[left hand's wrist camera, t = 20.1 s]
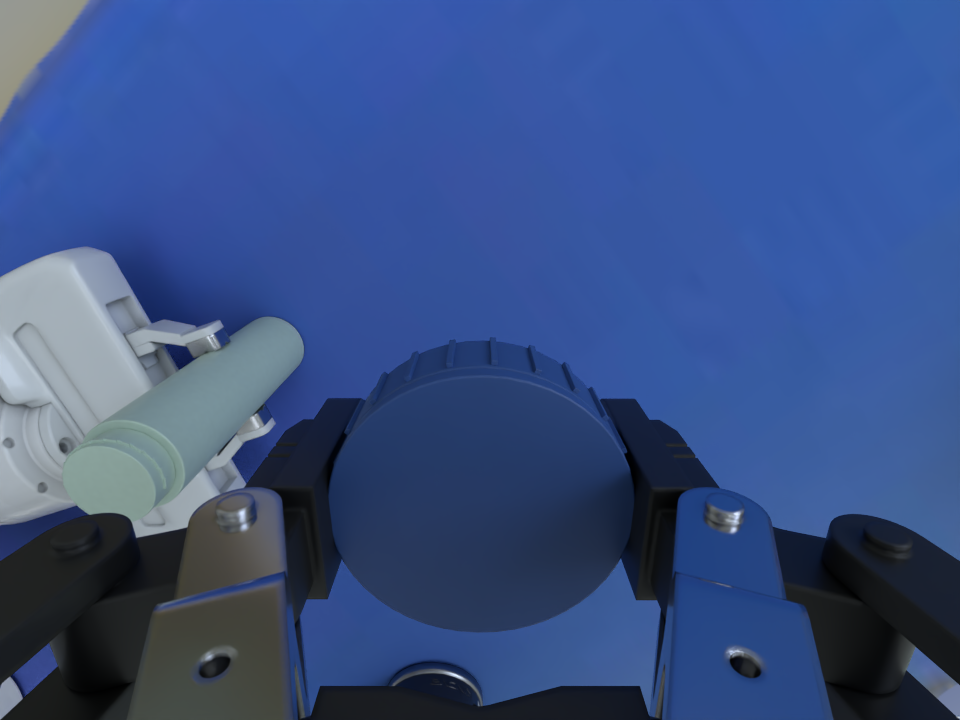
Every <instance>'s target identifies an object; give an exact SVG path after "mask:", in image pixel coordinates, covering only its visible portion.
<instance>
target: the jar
mask: <svg viewBox="0 0 960 720" xmlns="http://www.w3.org/2000/svg"><path fill="white" fill-rule="evenodd" d="M229 338H230V340H231V342H230V343H228V344H226V346H224V347H222V348H220V349H219V350H216V351H213V352H207V353H205V354H204V355H202V356H200V357H198V358H197V359H195V360H194V361H192V362H191V363H189V364H188V365H186V366H185V367H183V368H182V369H180V370H179V371H177V372H176V373H174V374H173V375H171V376H170V377H168V378H167V379H165V380H164V381H162V382H161V383H159V384H158V385H156V386H155V387H153V388H152V389H150V390H149V391H147V392H146V393H144V394H143V395H141V396H140V397H138V398H137V399H135V400H134V401H132V402H131V403H129V404H128V405H126V406H125V407H123V408H122V409H120V410H119V411H117V412H116V413H114V414H113V415H111V416H110V417H108V418H107V419H105V420H104V421H102V422H101V423H99V424H98V425H96V426H95V427H94V428H92V429H91V430H90V431H89V432H88V433H87V435H86V436H85V438H84V440H83V442H82V444H80V445H79V446H77V447H76V448H75V449H74V450H73V451H72V452H70V453H69V455H68V457H67V459H66V461H65V462H64V464H63V473H62V477H63V483H64V484H63V486H64V488H65V489H66V491H67V493H68V495H69V496H70V498H71V499H72V501H73V502H74V503H75V504H76V505H77V506H78V507H79V508H81V509H82V510H83V511H85V512H86V513H88V514H89V515H92V514H98V513H118V514H122V515H125V516H127V517H128V518H129V519H130V520H131V522H134V521H137V520H139V519H141V518H143V517H144V516H146V515H147V514H148V513H149V512H150V511H151V510H152V509H153V508H154V507H159V506H162V505H165V504H167V503H169V502H170V501H172V500H173V499H174V498H176V497H177V496H178V495H179V494H180V492H181V491H182V490H183V489H184V488H185V487H186V486H187V485H188V484H189V483H190V482H191V481H192V480H193V479H194V477H195V476H196V475H197V474H198V473H199V472H200V471H201V470H202V469H203V468H204V467H205V466H206V465H207V464H208V462H209V461H210V460H211V459H212V458H213V457H214V456H215V455H216V454H217V453H218V452H219V451H220V450H221V448H222V447H223V446H224V445H225V444H226V443H227V442H228V441H229V440H230V439H231V438H232V437H233V436H234V435H235V433H236V432H237V431H238V430H239V429H240V428H241V427H242V426H243V425H244V424H245V423H246V422H247V421H248V420H249V418H250V417H251V416H252V415H253V414H254V413H255V412H256V411H257V410H258V409H259V408H260V407H261V406H262V405H263V403H264V402H265V401H266V400H267V399H268V398H269V397H270V396H271V395H272V394H273V393H274V392H275V391H276V390H277V388H278V387H279V386H280V385H281V384H282V383H283V382H284V381H285V380H286V379H287V378H288V377H289V376H290V375H291V373H292V372H293V371H294V370H295V369H296V368H297V367H298V366H299V365H300V363H301V361H302V359H303V355H304V345H303V341H302V338H301V336H300V335H299V333H298V331H297V330H296V329H295V328H294V327H293V326H292V325H291V324H289V323H288V322H286V321H284V320H282V319H279V318H276V317H261V318H258V319H256V320H254V321H252V322H251V323H249V324H248V325H246V326H245V327H243V328H242V329H240V330H239V331H237V332H236V333H234V334H233V335H231V336H230V337H229Z"/></svg>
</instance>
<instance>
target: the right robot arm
mask: <svg viewBox="0 0 960 720" xmlns="http://www.w3.org/2000/svg"><path fill="white" fill-rule="evenodd" d="M230 342H231V340H230V338H229V336H228V334H227V332H226V330H225V328H224V326H223V325H222V323H221V321H220V320H216V321H213V322H210V323H208V324H205V325H202V326H199V327H196V326H195V325H190V324H185V323H180V322H175V321H170V320H165V319H163V320H160V321H158V322H155V323H151V321H150V320H149V318H148V316H147V315H146V313H145V311H144V310H143V308H142V306H141V304H140V303H139V301H138V299H137V298H136V296H135V294H134V293H133V291H132V289H131V287H130V286H129V284H128V282H127V281H126V279H125V277H124V275H123V274H122V272H121V270H120V269H119V267H118V265H117V263H116V262H115V260H114V258H113V257H112V256H111V255H110V254H109V253H107V252H104V251H102V250H98V249H95V248H91V247H79V248H73V249H68V250H64V251H60V252H56V253H52V254H49V255H46V256H43V257H41V258H38V259H36V260H33V261H31V262H29V263H27V264H25V265H22V266H20V267H18V268H16V269H14V270H12V271H10V272H9V273H7V274H5V275H3V276H1V277H0V525H7V524H16V523H22V522H26V521H29V520H33V519H36V518H39V517H42V516H45V515H48V514H51V513H55V512H58V511H61V510H64V509H67V508H71V507H74V506H77V505H76V504H75V503H74V502H73V501H72V499H71V498H70V496H69V495H68V493H67V491H66V489H65V488H64V486H63V484H64V483H63V477H62V473H63V464H64V462H65V461H66V459H67V457H68V455H69V453H70V452H72V451H73V450H74V449H75V448H76V447H77V446H79V445H80V444H82V442H83V440H84V438H85V436H86V435H87V433H88V432H89V431H90V430H91V429H92V428H94V427H95V426H96V425H98V424H99V423H101V422H102V421H104V420H105V419H107V418H108V417H110V416H111V415H113V414H114V413H116V412H117V411H119V410H120V409H122V408H123V407H125V406H126V405H128V404H129V403H131V402H132V401H134V400H135V399H137V398H138V397H140V396H141V395H143V394H144V393H146V392H147V391H149V390H150V389H152V388H153V387H155V386H156V385H158V384H159V383H161V382H162V381H164V380H165V379H167V378H168V377H170V376H171V375H173V374H174V373H176V372H177V371H179V369H178V367H177V366H176V364H175V362H174V361H173V359H172V357H171V355H170V354H169V352H168V350H167V349H166V347H165V345H166V344H173V345H180V346H187V348H188V350H189V351H190V353H191V354H192V356H193V358H196V357H199V356H202V355H204V354H205V353H207V352H213V351H216V350H219V349H220V348H222V347H224V346H226V344H228V343H230ZM275 424H276V423H275V421H274V420H273V418H272V416H271V414H270V412H269V410H268V408H267V407H266V405H265V404H263V405H262V406H261V407H260V408H259V409H258V410H257V411H256V412H255V413H254V414H253V415H252V416H251V417H250V418H249V420H248V421H247V422H246V423H245V424H244V425H243V426H242V427H241V428H240V429H239V430H238V431H237V432H236V433H237V434H236V435H235V436H234V437H233V439H232V438H231V439H230V440H229V441H228V442H227V443H226V444H225V445H224V446H223V447H222V448H221V450H220V451H219V452H218V453H217V454H216V455H215V456H214V457H213V458H212V459H211V460H210V461H209V462H208V464H207V465H206V466H205V467H204V468H203V469H202V470H201V471H200V472H199V473H198V474H197V475H196V476H195V477H194V479H193V480H192V481H191V482H190V483H189V484H188V485H187V486H186V487H185V488H184V489H183V490H182V491H181V492H180V494H179V495H178V496H177V497H176V498H174V499H173V500H172V501H170V502H169V503H167V504H165V505H162V506H159V507H154V508H153V509H152V510H151V511H150V512H149V513H148V514H147V515H146V516H144V517H143V518H141V519H139V520H137V521H134V522H132V524H133V528H134V531H135V535H136V538H138V537H143V536H148V535H153V534H158V533H163V532H168V531H173V530H178V529H182V528H186V527H188V522H189V519H190V517H191V515H192V514H193V512H194V511H195V510H196V509H197V508H198V507H199V506H201V505H202V504H203V503H205V502H206V501H208V500H209V499H211V498H213V497H215V496H217V495H220V494H222V493H225V492H228V491H231V490H235V489H240V488H244V487H245V485H246V483H245V481H244V479H243V478H242V476H241V474H240V473H239V471H238V469H237V468H236V466H235V464H234V462H233V461H232V459H231V458H232V457H233V456H234V455H235V453H236V452H237V451H238V450H239V449H240V447H241V446H242V445H243V444H244V443H245V441H248V440H251V439H254V438H257V437H260V436H263V435H265V434H266V433H268V432H269V431H270V430H271V429H272V428H273V426H274V425H275ZM22 699H23V697H22V694H21V692H20V690H19V688H18V686H17V685H16V683H15V682H14V681H13V679H12V678H11V677H9V678H8V679H7V680H5V681H4V682H3V683H2V684H1V685H0V720H1V719H2V718H3V717H4V716H5V715H6V714H7V713H8V712H9V711H10V710H11V709H12V708H13V707H15V706H16V705H17V704H18V703H19V702H20V701H21V700H22Z"/></svg>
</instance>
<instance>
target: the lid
mask: <svg viewBox="0 0 960 720" xmlns="http://www.w3.org/2000/svg"><path fill="white" fill-rule="evenodd" d="M344 433H345V434H347V436H346V438H345V440H344V442H343V444H342V446H341V448H340V450H339V452H338V454H337V456H336V458H335V460H334V462H333V465H334V467H333V470H332V473H331V477H330V480H329V487H328V497H329V506H330V514H331V522H332V531H333V538H334V542H335V545H336V548H337V550H338V552H339V554H340V556H341V558H342V560H343V562H344V563H345V564H346V566H347V567H348V569H349V570H350V572H351V573H352V574H353V576H354V577H355V578H356V579H357V580H358V581H359V582H360V583H361V585H362V586H363V587H364V588H365V589H366V590H368V591H369V592H370V593H371V594H372V595H373V596H375V597H376V598H377V599H378V600H380V601H381V602H383V603H384V604H386V605H387V606H389V607H390V608H392V609H393V610H395V611H397V612H399V613H401V614H403V615H405V616H407V617H409V618H412V619H414V620H417V621H420V622H422V623H425V624H428V625H432V626H436V627H439V628H444V629H450V630H456V631H465V632H498V631H506V630H513V629H518V628H522V627H527V626H531V625H534V624H537V623H540V622H543V621H545V620H548V619H551V618H553V617H555V616H557V615H559V614H561V613H563V612H565V611H567V610H569V609H570V608H572V607H573V606H575V605H577V604H578V603H580V602H581V601H582V600H584V599H585V598H586V597H588V596H589V595H590V594H591V593H593V592H594V591H595V590H596V589H597V588H598V587H599V586H600V585H601V584H602V583H603V582H604V581H605V580H606V578H607V577H608V576H609V575H610V573H611V572H612V571H613V569H614V568H615V567H616V565H617V563H618V562H619V560H620V558H621V556H622V555H623V553H624V551H625V548H626V546H627V543H628V541H629V538H630V531H631V524H632V516H633V508H634V498H635V490H634V483H633V479H632V475H631V471H630V467H629V465H628V463H627V460H626V458H625V456H624V454H625V453H627V450H626V448H625V446H624V444H623V442H622V440H621V438H620V436H619V434H618V432H617V430H616V428H615V426H614V424H613V422H612V420H611V419H610V417H608V415H607V413H606V411H605V409H604V408H603V406H602V404H601V402H600V400H599V398H598V396H597V394H596V392H595V390H594V389H593V387H590V388H589V389H588V388H587V387H586V386H585V385H584V383H583V382H582V381H581V380H580V379H579V378H577V377H576V376H575V375H574V374H573V373H572V371H571V369H570V367H569V365H568V364H567V363H565V362H564V363H563V364H562V365H561V364H559V363H558V362H557V361H555V360H553V359H551V358H549V357H547V356H545V355H543V354H541V353H539V352H537V351H536V349H535V347H534V346H531V345H529V347H528V348H525V347H522V346H518V345H513V344H509V343H504V342H496V338H491V337H490V341H466V342H460V343H456V340H455V339H454V340H450V342H449V344H448V345H444V346H441V347H437V348H434V349H431V350H428V351H426V352H424V353H421V354H419V353H418V351H416V352H414V353H412V356H411V359H409V360H408V361H406V362H404V363H403V364H401V365H400V366H398V367H397V368H395V369H394V370H393V371H392V372H391V373H389V374H387V373H386V372H384V373H383V374H382V375H381V377H380V379H379V381H378V384H377V386H376V387H375V388H374V389H373V391H372V392H371V393H370V395H369V396H368V398H367V399H366V401H365V400H363V399H361V401H360V402H359V404H358V406H357V408H356V410H355V412H354V414H353V416H352V418H351V420H350V422H349V424H348V426H347V428H346V430H345V432H344Z"/></svg>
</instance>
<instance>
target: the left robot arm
mask: <svg viewBox="0 0 960 720" xmlns="http://www.w3.org/2000/svg"><path fill="white" fill-rule="evenodd" d="M360 401H361V398H328V399H327V400H326V402H325V403H324V405H323V406H322V408H321V409H320V411H319V412H318V414H317V415H316V417H315V418H314V420H302V421H300V422H299V423H297V424H296V425H294V426H293V427H291V428H289V429H288V430H286V431H285V433H284V434H283V435H282V437H281V438H280V439H279V441H278V442H277V443H276V446H274V447H273V449H272V450H271V452H270V453H269V454H268V457H266V458H265V460H264V461H263V462H262V464H261V465H260V466H259V468H258V469H257V470H256V472H255V473H254V475H253V476H252V477H251V479H250V480H249V481H248V483H247V484H246V485H245V487H244V488H240V489H235V490H231V491H228V492H225V493H222V494H220V495H217V496H215V497H213V498H211V499H209V500H208V501H206V502H205V503H203V504H202V505H201V506H199V507H198V508H197V509H196V510H195V511H194V512H193V514H192V515H191V517H190V519H189V522H188V527H186V528H182V529H178V530H173V531H168V532H163V533H158V534H153V535H148V536H143V537H138V538H136V535H135V531H134V528H133V524H132V522H131V520H130V519H129V518H128V517H127V516H125V515H122V514H118V513H98V514H92V515H87V516H83V517H79V518H76V519H73V520H70V521H67V522H65V523H62V524H60V525H58V526H55V527H53V528H52V529H50V530H48V531H46V532H44V533H43V534H41V535H39V536H38V537H36V538H35V539H33V540H32V541H30V542H29V543H27V544H26V545H24V546H23V547H21V548H20V549H18V550H17V551H15V552H14V553H12V554H11V555H9V556H8V557H6V558H4V559H3V560H1V561H0V685H1V684H2V683H3V682H4V681H5V680H7V679H8V678H9V677H10V676H11V675H12V674H13V673H15V672H16V671H17V670H18V669H19V668H20V667H22V666H23V665H24V664H25V663H26V662H27V661H28V660H30V659H31V658H32V657H33V656H34V655H35V654H37V653H38V652H39V651H40V650H41V649H42V648H43V647H45V646H46V645H47V644H48V643H49V644H50V646H51V649H52V651H53V654H54V657H55V659H56V662H57V664H58V667H57V668H56V669H54V670H53V671H52V672H51V673H50V674H49V675H48V676H47V677H46V678H45V679H44V680H43V681H42V682H40V683H39V684H38V685H37V686H36V687H35V688H34V689H33V690H32V691H31V692H30V693H29V694H28V695H26V696H25V697H24V698H23V699H22V700H21V701H20V702H19V703H18V704H17V705H16V706H15V707H13V708H12V709H11V710H10V711H9V712H8V713H7V714H6V715H5V716H4V717H3V718H2V719H1V720H959V719H958V718H957V717H956V716H955V715H954V714H953V713H952V712H951V711H950V710H949V709H948V708H947V707H945V706H944V705H943V704H942V703H941V702H940V701H939V700H938V699H937V698H936V697H935V696H934V695H933V694H931V693H930V692H929V691H928V690H927V689H926V688H925V687H924V686H923V685H922V684H921V683H920V682H918V681H917V680H916V679H915V678H914V677H913V676H912V675H911V674H910V673H909V672H908V671H907V667H908V665H909V662H910V660H911V657H912V655H913V652H914V650H915V647H917V648H918V649H919V650H920V651H921V652H922V653H924V654H925V655H926V656H927V657H928V658H929V659H930V660H932V661H933V662H934V663H935V664H936V665H937V666H938V667H940V668H941V669H942V670H943V671H944V672H945V673H947V674H948V675H949V676H950V677H951V678H952V679H953V680H955V681H956V682H957V683H958V684H959V685H960V561H959V560H957V559H956V558H954V557H952V556H951V555H949V554H948V553H946V552H945V551H943V550H942V549H940V548H939V547H937V546H936V545H934V544H933V543H931V542H930V541H928V540H927V539H925V538H924V537H922V536H920V535H919V534H917V533H915V532H914V531H912V530H910V529H908V528H906V527H904V526H901V525H899V524H897V523H894V522H891V521H888V520H885V519H881V518H878V517H873V516H868V515H860V514H848V515H842V516H838V517H836V518H834V519H833V520H832V521H831V523H830V526H829V530H828V533H827V537H826V538H822V537H817V536H812V535H807V534H802V533H797V532H792V531H787V530H783V529H778V528H775V527H772V522H771V519H770V517H769V515H768V514H767V512H766V511H765V510H764V509H763V508H762V507H761V506H759V505H758V504H757V503H755V502H754V501H752V500H751V499H749V498H747V497H745V496H743V495H740V494H738V493H735V492H732V491H729V490H725V489H720V488H719V486H718V485H717V484H716V482H715V481H714V480H713V478H712V477H711V476H710V474H709V473H708V472H707V470H706V469H705V468H704V466H703V465H702V464H701V462H700V461H699V460H698V458H695V454H694V453H693V452H692V450H691V449H690V448H689V447H687V444H686V442H685V441H684V440H683V438H682V437H681V436H680V434H679V433H678V432H677V431H676V430H675V429H673V428H671V427H670V426H668V425H667V424H665V423H663V422H662V421H660V420H649V419H648V417H647V416H646V414H645V413H644V411H643V410H642V408H641V407H640V405H639V404H638V402H637V401H636V400H635V399H601V400H600V402H601V404H602V406H603V408H604V409H605V411H606V413H607V415H608V417H610V419H611V420H612V422H613V424H614V426H615V428H616V430H617V432H618V434H619V436H620V438H621V440H622V442H623V444H624V446H625V448H626V450H627V453H625V454H624V456H625V458H626V460H627V463H628V465H629V467H630V471H631V475H632V479H633V483H634V490H635V498H634V508H633V516H632V524H631V531H630V538H629V541H628V543H627V546H626V548H625V551H624V553H623V555H622V556H621V559H622V562H623V565H624V568H625V570H626V573H627V576H628V579H629V582H630V584H631V587H632V590H633V593H634V595H635V598H636V600H657V601H658V603H659V606H660V608H661V612H660V618H659V624H658V632H657V642H656V653H655V663H654V674H653V684H652V694H651V705H650V715H649V714H648V711H647V708H646V705H645V701H644V698H643V695H642V692H641V689H640V686H560V687H556V688H552V689H548V690H545V691H541V692H537V693H533V694H529V695H525V696H522V697H518V698H514V699H510V700H506V701H503V702H499V703H495V704H491V705H487V706H483V699H482V691H481V688H480V686H479V684H478V683H477V681H476V680H475V679H474V678H473V677H472V676H471V675H470V674H469V673H467V672H466V671H464V670H462V669H460V668H458V667H456V666H452V665H449V664H444V663H421V664H417V665H413V666H410V667H408V668H406V669H404V670H402V671H401V672H399V673H398V674H397V675H396V676H394V678H393V679H392V680H391V681H390V683H389V685H388V686H320V689H319V692H318V695H317V698H316V701H315V705H314V708H313V711H312V714H311V715H310V705H309V694H308V684H307V674H306V663H305V653H304V642H303V632H302V624H301V618H300V614H301V612H302V609H303V607H304V605H305V602H306V600H307V599H328V596H329V593H330V591H331V588H332V585H333V582H334V579H335V576H336V574H337V571H338V568H339V565H340V562H341V559H342V558H341V556H340V554H339V552H338V550H337V548H336V545H335V542H334V538H333V531H332V522H331V514H330V506H329V497H328V487H329V480H330V477H331V473H332V470H333V467H334V465H333V462H334V460H335V458H336V456H337V454H338V452H339V450H340V448H341V446H342V444H343V442H344V440H345V438H346V436H347V434H345V433H344V432H345V430H346V428H347V426H348V424H349V422H350V420H351V418H352V416H353V414H354V412H355V410H356V408H357V406H358V404H359V402H360Z"/></svg>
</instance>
